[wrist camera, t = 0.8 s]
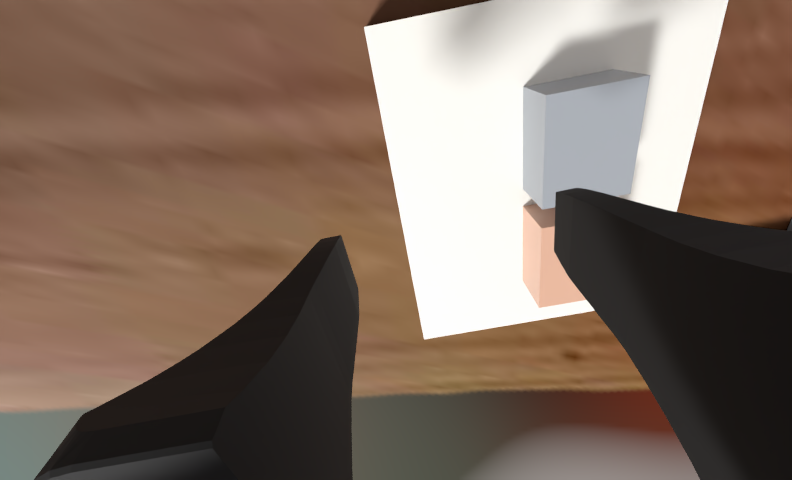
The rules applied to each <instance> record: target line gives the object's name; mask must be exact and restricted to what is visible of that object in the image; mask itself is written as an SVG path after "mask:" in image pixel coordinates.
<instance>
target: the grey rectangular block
mask: <svg viewBox="0 0 792 480" xmlns="http://www.w3.org/2000/svg"><path fill="white" fill-rule="evenodd" d="M649 80H650V75H647V74H641V73H635V72H628V71H622V70H616V69H611V70H606V71H600V72H595V73H590V74H585V75H580V76H575V77H570V78H565V79H560V80H555V81H550V82H545V83H539V84H534V85H529V86H524V87H523V190H524V191H525V192H526V193H527V194H528V195H529V196H530V197H531V198H532V199H533V200H534V201H535V202H536V203H537V205H538V206H539V207H540V208H541V209H542V210H543V209H549V208H554V207H555V200H556V192H558V191H563V190H568V189H573V188H583V189H589V190H593V191H597V192H601V193H605V194H609V195H612V196H620V195H626V194H631V188H632V182H633V176H634V170H635V164H636V158H637V152H638V146H639V140H640V134H641V128H642V122H643V116H644V110H645V104H646V98H647V92H648V86H649Z"/></svg>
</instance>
